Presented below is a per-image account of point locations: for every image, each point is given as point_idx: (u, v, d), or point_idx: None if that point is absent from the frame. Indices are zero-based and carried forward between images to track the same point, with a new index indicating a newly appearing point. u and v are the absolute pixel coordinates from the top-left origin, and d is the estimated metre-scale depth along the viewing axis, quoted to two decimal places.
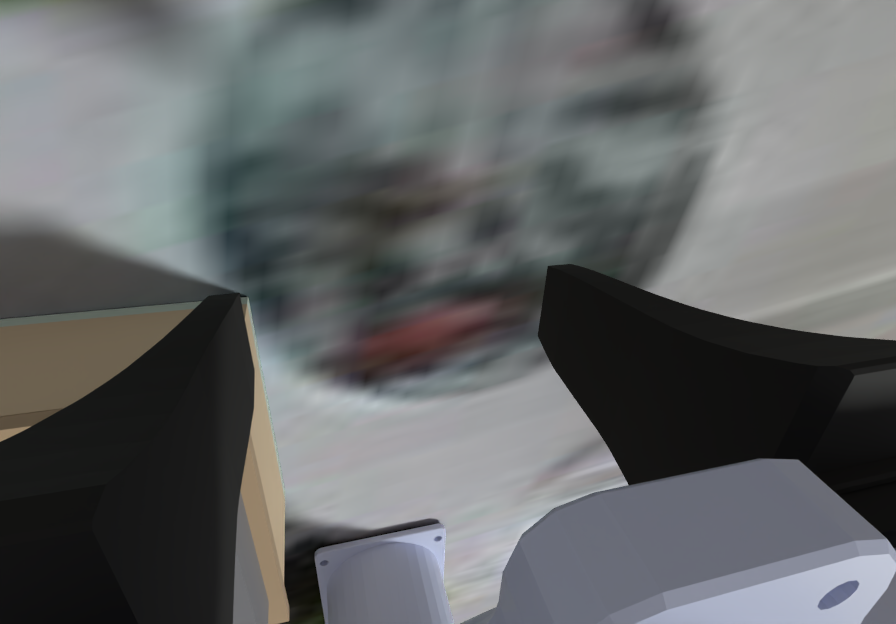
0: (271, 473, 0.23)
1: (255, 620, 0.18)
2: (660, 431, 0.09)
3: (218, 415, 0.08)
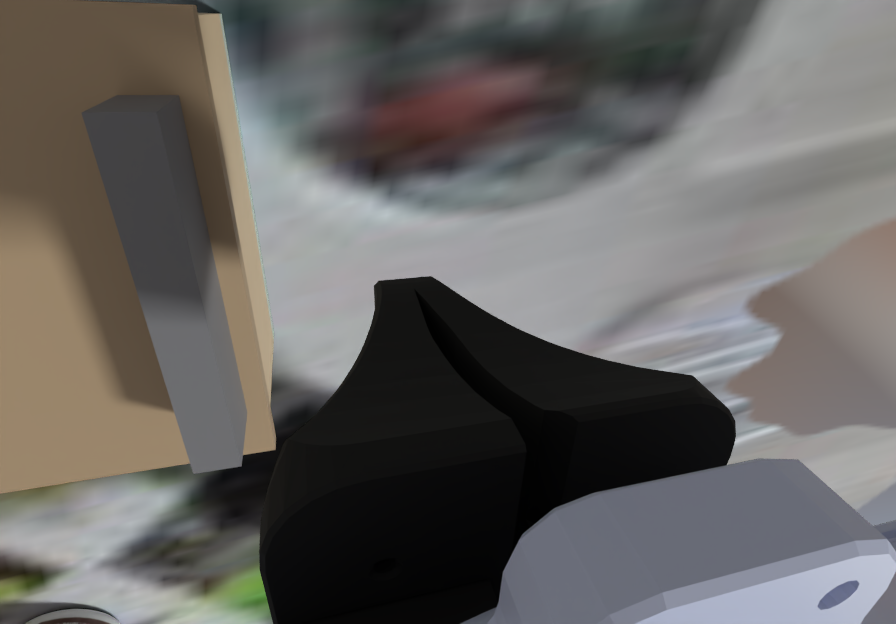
0: (253, 266, 0.18)
1: (222, 390, 0.12)
2: None
3: None
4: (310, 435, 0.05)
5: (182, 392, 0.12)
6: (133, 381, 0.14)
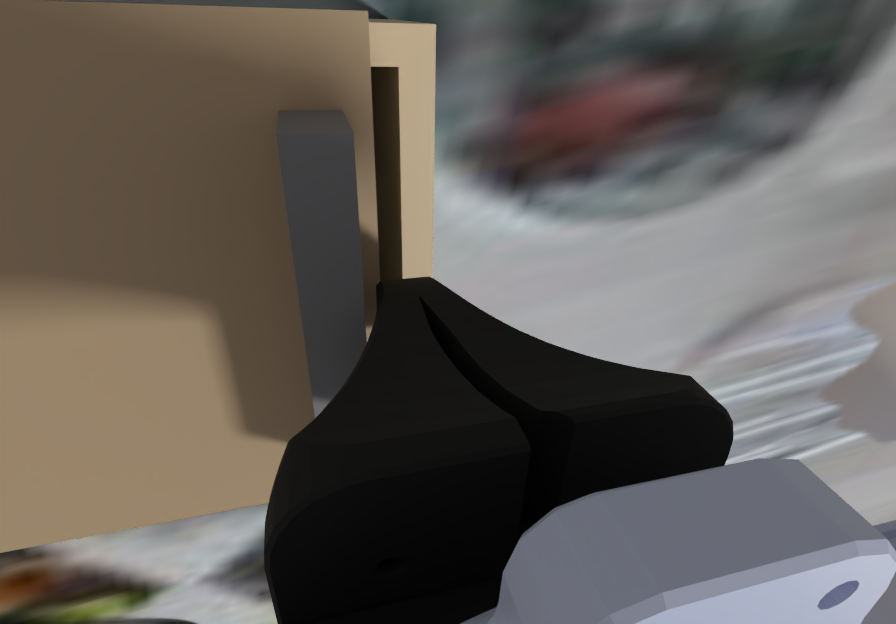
0: None
1: None
2: None
3: None
4: (314, 434, 0.05)
5: None
6: (257, 413, 0.13)
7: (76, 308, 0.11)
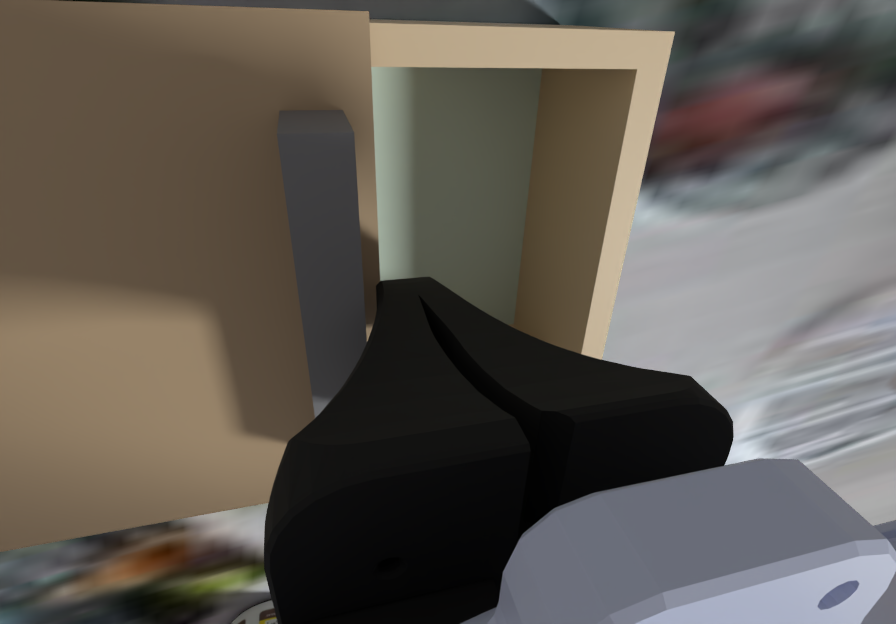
0: None
1: None
2: None
3: None
4: (314, 434, 0.05)
5: None
6: (257, 413, 0.13)
7: (77, 307, 0.11)
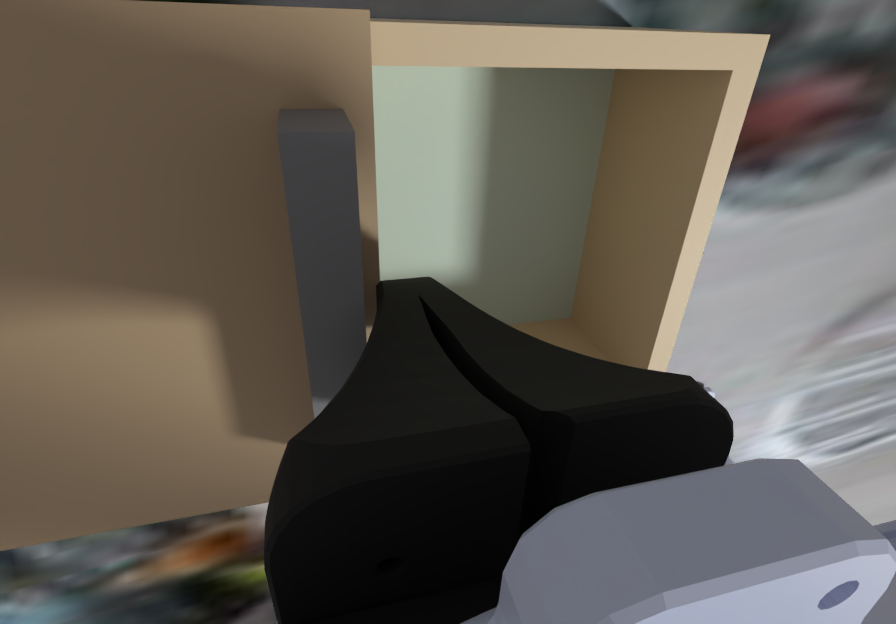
0: None
1: None
2: None
3: None
4: (314, 434, 0.05)
5: None
6: (256, 413, 0.13)
7: (75, 306, 0.11)
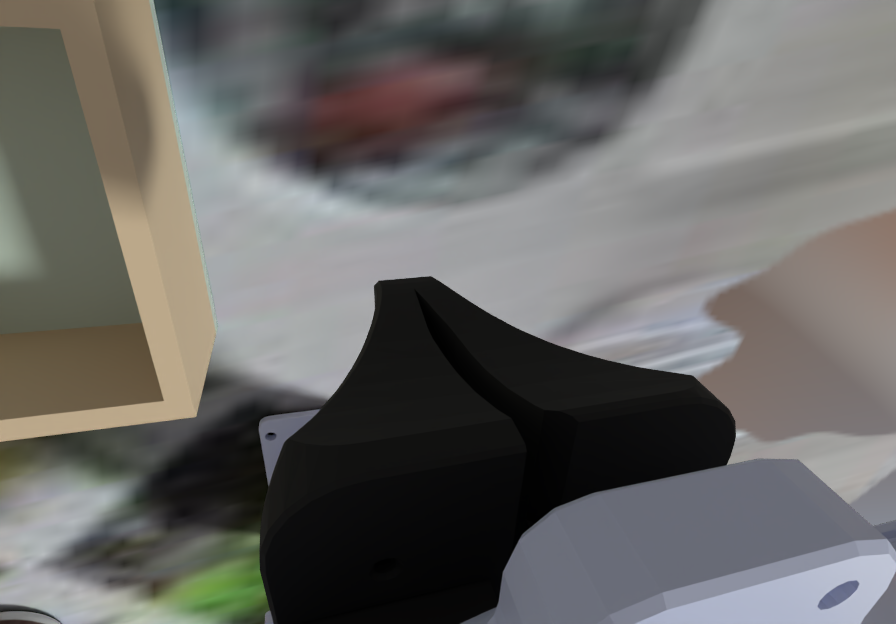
0: (185, 253, 0.17)
1: None
2: None
3: None
4: (311, 436, 0.05)
5: None
6: None
7: None
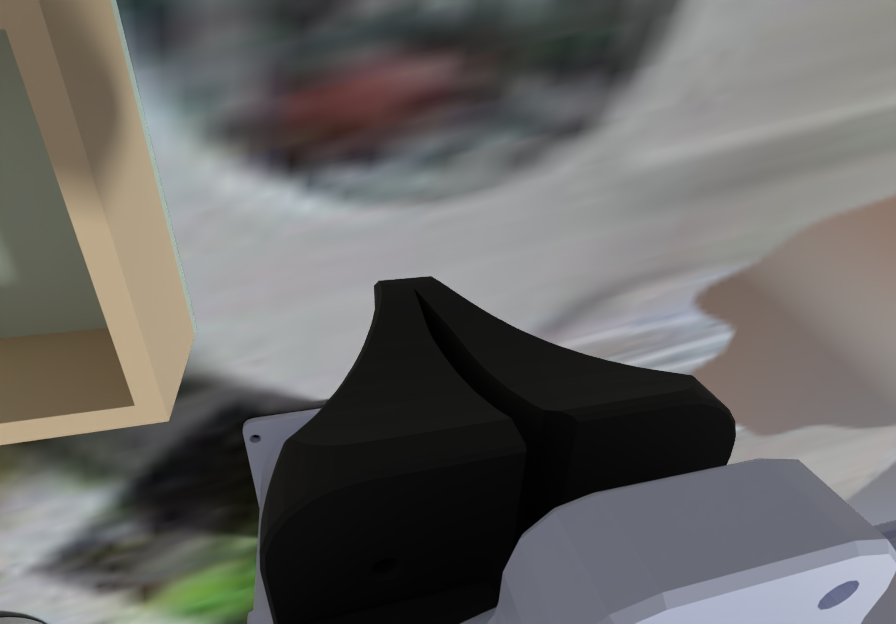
0: (155, 256, 0.17)
1: None
2: None
3: None
4: (311, 435, 0.05)
5: None
6: None
7: None
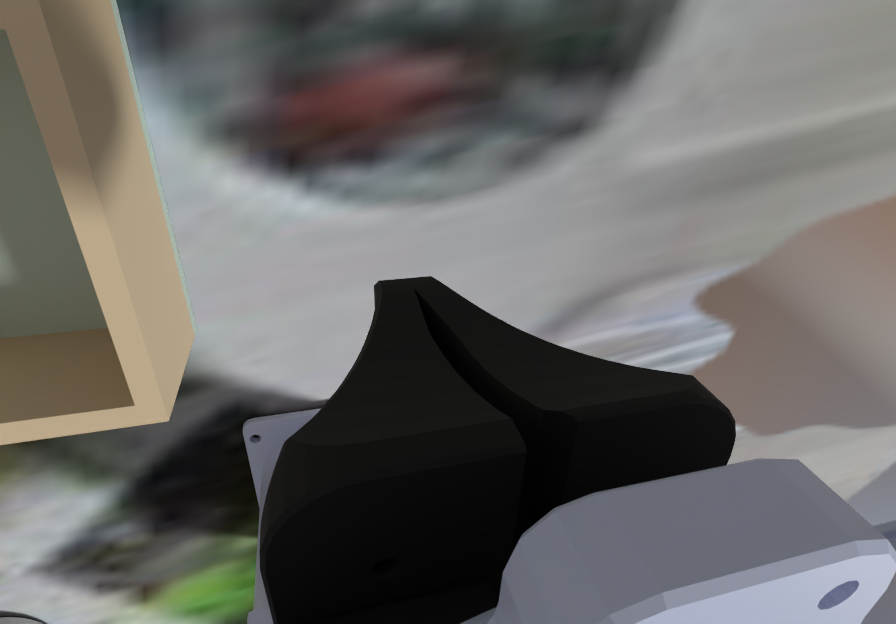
0: (155, 256, 0.17)
1: None
2: None
3: None
4: (311, 435, 0.05)
5: None
6: None
7: None
